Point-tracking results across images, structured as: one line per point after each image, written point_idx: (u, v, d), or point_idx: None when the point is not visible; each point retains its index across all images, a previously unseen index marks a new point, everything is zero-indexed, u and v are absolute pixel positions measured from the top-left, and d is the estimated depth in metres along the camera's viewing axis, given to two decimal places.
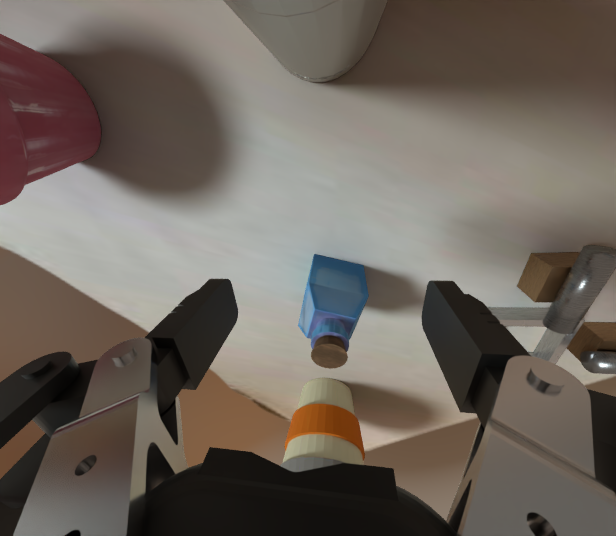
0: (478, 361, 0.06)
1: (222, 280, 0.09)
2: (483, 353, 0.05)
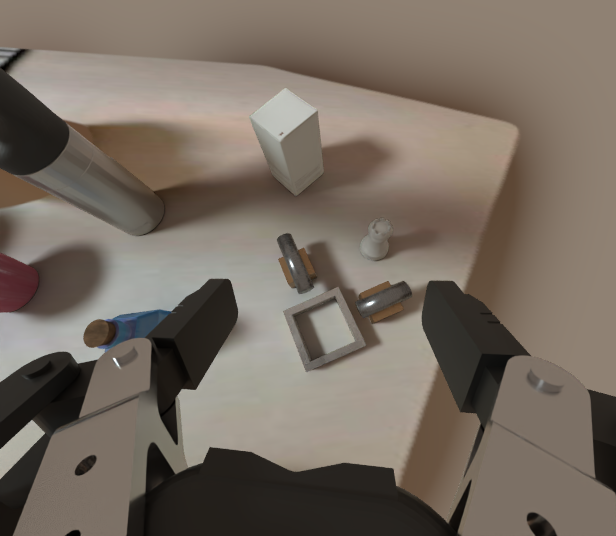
0: (478, 361, 0.06)
1: (222, 280, 0.09)
2: (483, 353, 0.05)
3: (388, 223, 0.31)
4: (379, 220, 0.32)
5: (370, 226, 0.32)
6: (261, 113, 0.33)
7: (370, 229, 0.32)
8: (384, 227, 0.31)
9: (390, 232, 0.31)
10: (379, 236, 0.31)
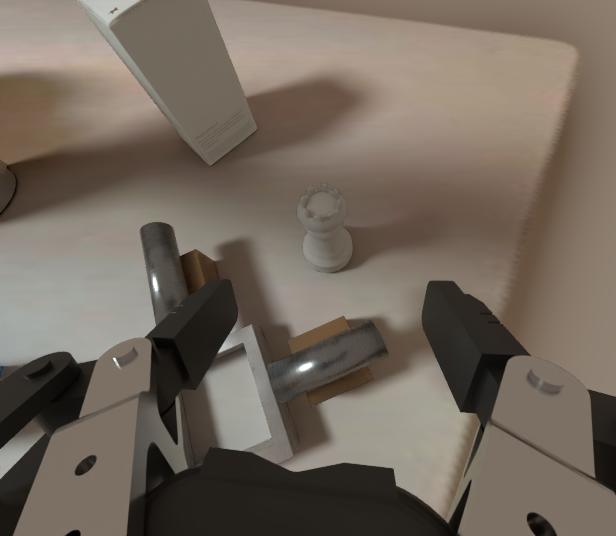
0: (478, 361, 0.06)
1: (222, 280, 0.09)
2: (483, 353, 0.05)
3: (336, 195, 0.14)
4: (318, 190, 0.15)
5: (300, 203, 0.15)
6: None
7: (299, 210, 0.15)
8: (326, 204, 0.14)
9: (340, 215, 0.14)
10: (316, 223, 0.14)
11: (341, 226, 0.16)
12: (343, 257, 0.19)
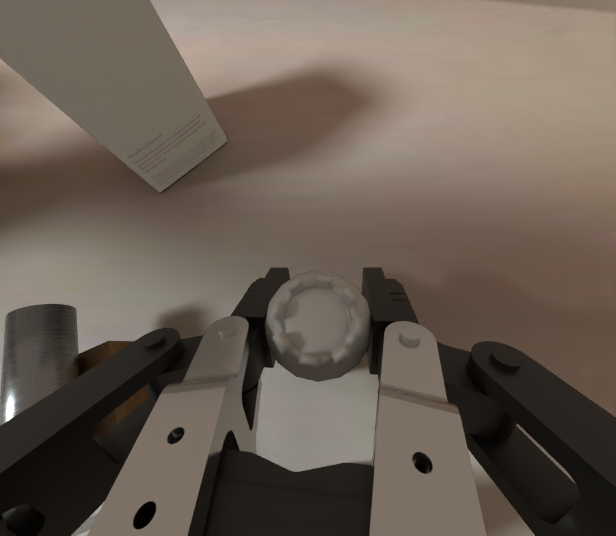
0: (374, 328, 0.07)
1: (284, 268, 0.10)
2: (375, 320, 0.07)
3: None
4: (312, 283, 0.07)
5: None
6: None
7: (269, 326, 0.07)
8: (329, 323, 0.06)
9: (359, 346, 0.06)
10: (305, 367, 0.06)
11: None
12: None
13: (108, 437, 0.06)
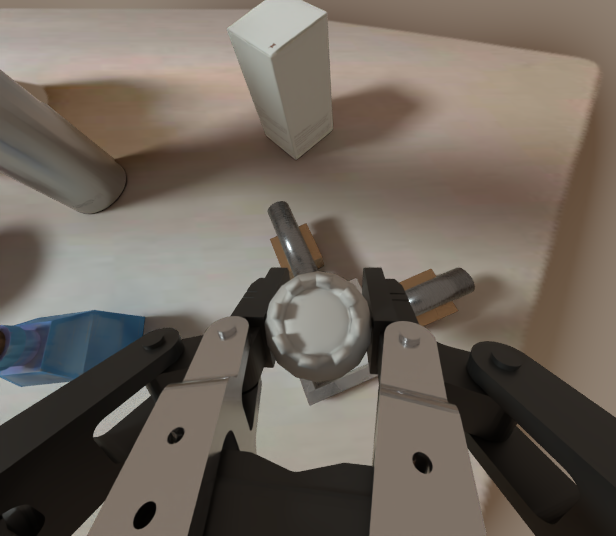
0: (374, 328, 0.07)
1: (284, 268, 0.10)
2: (374, 320, 0.07)
3: None
4: (312, 284, 0.07)
5: None
6: (243, 22, 0.23)
7: (269, 326, 0.07)
8: (329, 324, 0.06)
9: (359, 347, 0.06)
10: (305, 368, 0.06)
11: None
12: None
13: (108, 437, 0.06)
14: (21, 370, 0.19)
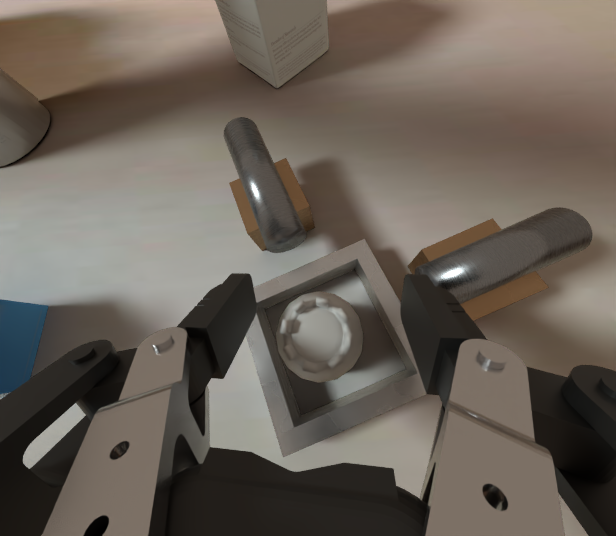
0: (438, 345, 0.06)
1: (244, 274, 0.10)
2: (441, 337, 0.06)
3: (344, 320, 0.08)
4: (313, 304, 0.09)
5: (282, 324, 0.09)
6: None
7: (280, 338, 0.09)
8: (327, 337, 0.08)
9: (351, 355, 0.08)
10: (308, 372, 0.08)
11: None
12: None
13: (36, 469, 0.06)
14: None
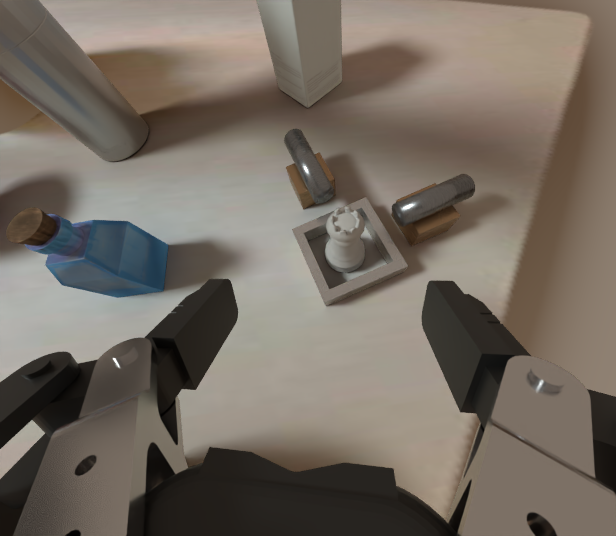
0: (478, 361, 0.06)
1: (222, 280, 0.09)
2: (483, 353, 0.05)
3: (356, 215, 0.19)
4: (343, 211, 0.20)
5: (329, 220, 0.20)
6: None
7: (328, 225, 0.20)
8: (349, 222, 0.19)
9: (359, 230, 0.19)
10: (341, 236, 0.19)
11: (358, 237, 0.21)
12: (358, 260, 0.24)
13: None
14: (66, 259, 0.21)
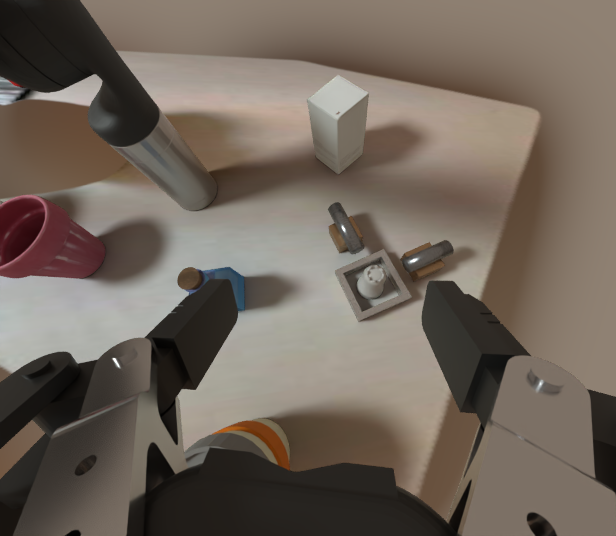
0: (478, 361, 0.06)
1: (222, 280, 0.09)
2: (483, 353, 0.05)
3: (382, 271, 0.33)
4: (373, 267, 0.33)
5: (365, 272, 0.34)
6: (318, 96, 0.38)
7: (365, 276, 0.33)
8: (377, 275, 0.33)
9: (383, 279, 0.33)
10: (373, 283, 0.33)
11: None
12: (379, 292, 0.38)
13: None
14: None
